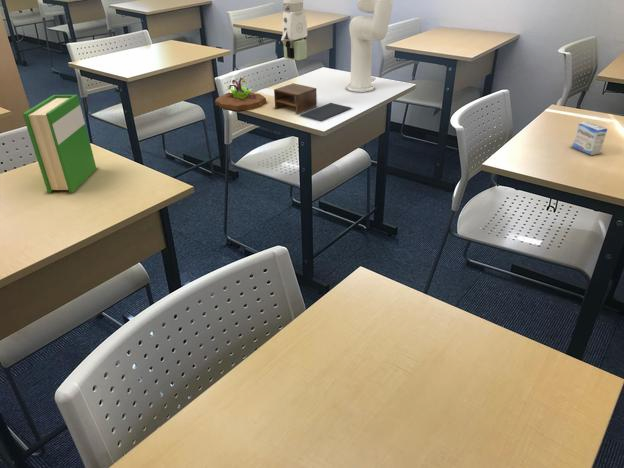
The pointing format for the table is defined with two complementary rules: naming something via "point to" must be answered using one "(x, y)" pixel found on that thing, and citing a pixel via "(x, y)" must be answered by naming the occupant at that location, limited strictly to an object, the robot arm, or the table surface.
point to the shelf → (296, 97)
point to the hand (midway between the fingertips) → (295, 56)
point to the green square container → (298, 49)
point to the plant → (240, 98)
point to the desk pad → (325, 111)
